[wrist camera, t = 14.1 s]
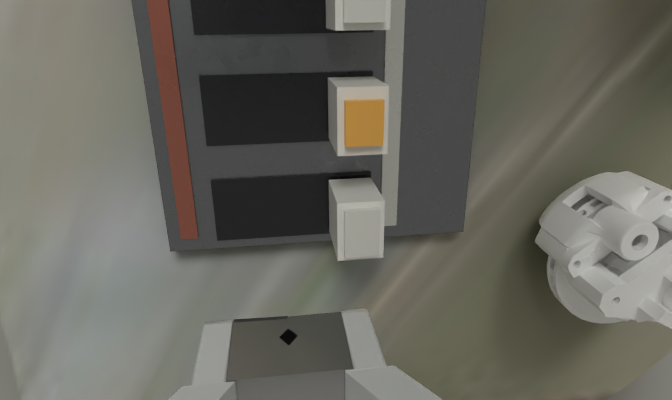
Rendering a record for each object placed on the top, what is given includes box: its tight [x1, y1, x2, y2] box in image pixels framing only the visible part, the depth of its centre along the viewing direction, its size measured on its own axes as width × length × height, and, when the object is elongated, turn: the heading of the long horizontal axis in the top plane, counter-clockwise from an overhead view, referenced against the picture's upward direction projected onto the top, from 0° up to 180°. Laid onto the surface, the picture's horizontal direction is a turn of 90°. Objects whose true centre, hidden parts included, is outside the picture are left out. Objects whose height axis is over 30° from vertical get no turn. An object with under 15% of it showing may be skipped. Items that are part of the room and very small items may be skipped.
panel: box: [132, 0, 486, 252], centre depth 33 cm, size 20×22×2 cm
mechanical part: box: [535, 171, 672, 329], centre depth 34 cm, size 11×12×12 cm
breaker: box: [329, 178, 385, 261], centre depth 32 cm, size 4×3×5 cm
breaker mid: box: [328, 76, 389, 156], centre depth 29 cm, size 4×3×5 cm
